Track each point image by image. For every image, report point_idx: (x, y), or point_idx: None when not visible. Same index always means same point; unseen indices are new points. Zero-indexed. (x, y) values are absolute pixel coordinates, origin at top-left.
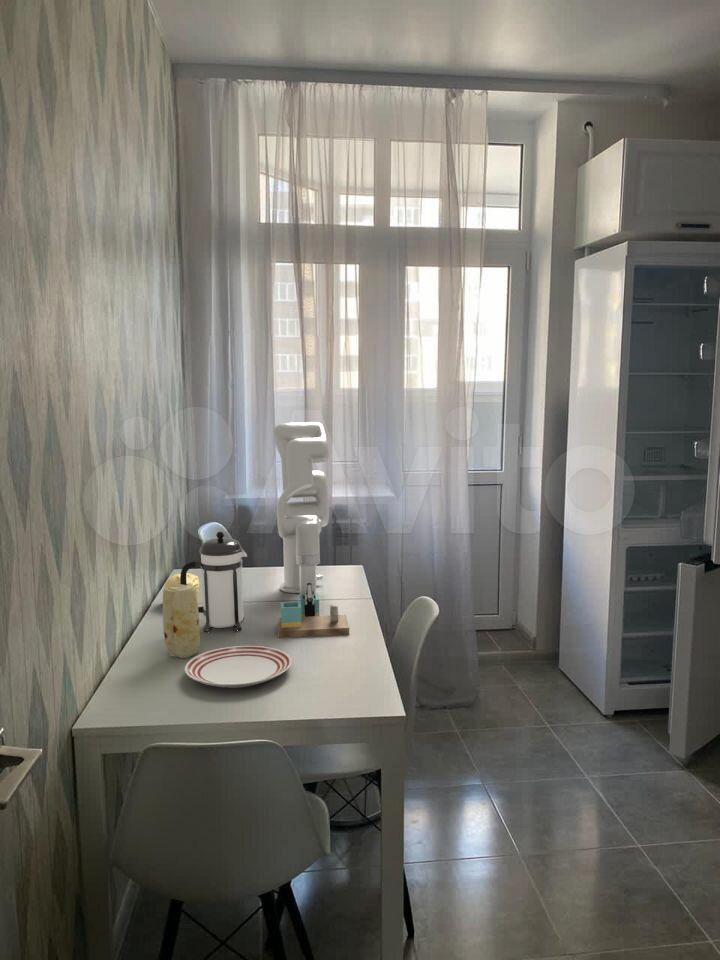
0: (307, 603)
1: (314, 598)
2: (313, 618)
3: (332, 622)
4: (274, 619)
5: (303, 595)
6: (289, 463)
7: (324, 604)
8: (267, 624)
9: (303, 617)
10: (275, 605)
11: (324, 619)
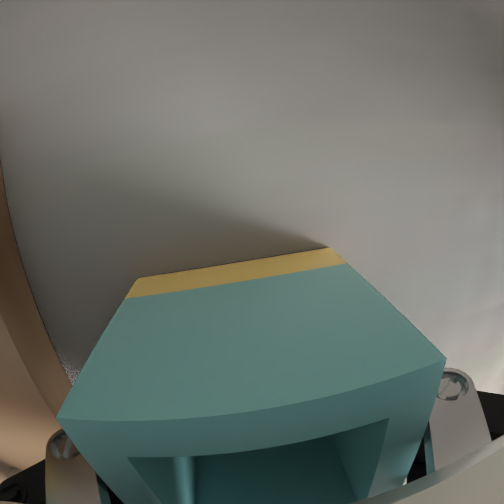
0: (40, 464)
1: (349, 476)
2: (15, 408)
3: (9, 472)
4: (114, 21)
5: (385, 429)
6: None
7: None
8: (8, 22)
9: (2, 343)
10: (489, 35)
11: (32, 456)
